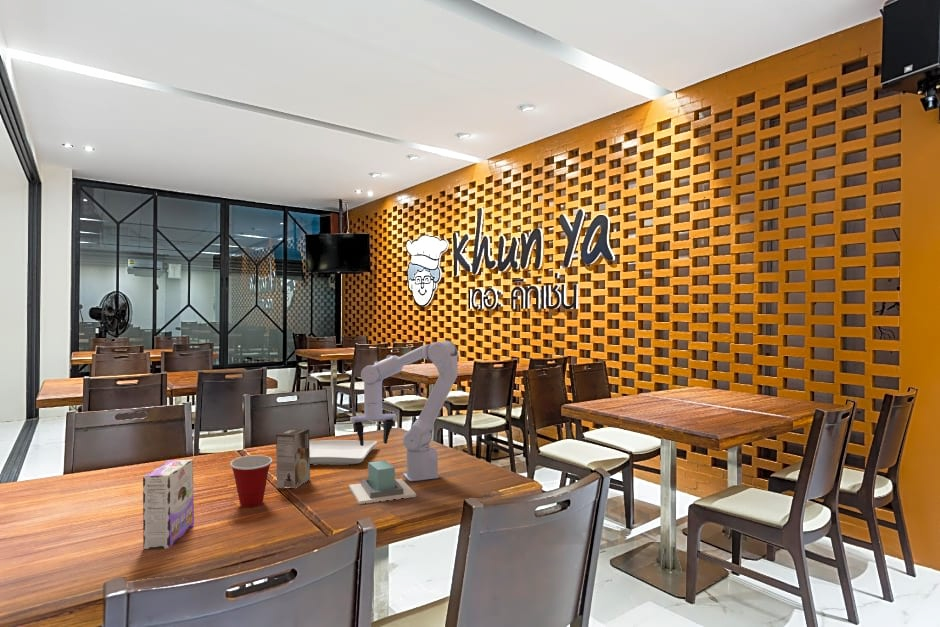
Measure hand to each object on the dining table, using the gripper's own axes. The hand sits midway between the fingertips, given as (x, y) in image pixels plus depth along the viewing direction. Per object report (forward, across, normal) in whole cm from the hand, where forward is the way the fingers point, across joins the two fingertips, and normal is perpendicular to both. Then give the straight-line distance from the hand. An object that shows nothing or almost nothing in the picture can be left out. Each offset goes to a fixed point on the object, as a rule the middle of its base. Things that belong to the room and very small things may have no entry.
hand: (373, 444), depth 182 cm
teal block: (+9, +2, +20) cm, 22 cm away
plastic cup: (+10, +37, +16) cm, 41 cm away
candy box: (+10, +55, +33) cm, 65 cm away
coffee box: (+10, +25, +2) cm, 27 cm away
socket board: (+9, +2, +20) cm, 22 cm away
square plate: (+10, +9, -26) cm, 29 cm away
